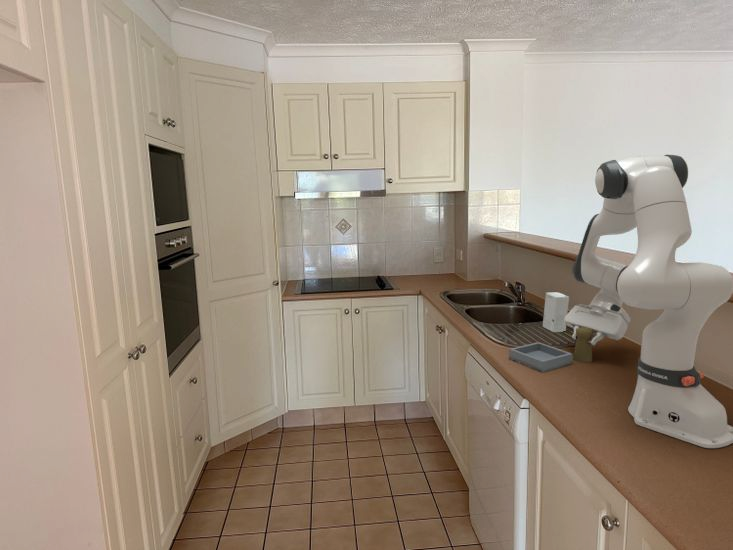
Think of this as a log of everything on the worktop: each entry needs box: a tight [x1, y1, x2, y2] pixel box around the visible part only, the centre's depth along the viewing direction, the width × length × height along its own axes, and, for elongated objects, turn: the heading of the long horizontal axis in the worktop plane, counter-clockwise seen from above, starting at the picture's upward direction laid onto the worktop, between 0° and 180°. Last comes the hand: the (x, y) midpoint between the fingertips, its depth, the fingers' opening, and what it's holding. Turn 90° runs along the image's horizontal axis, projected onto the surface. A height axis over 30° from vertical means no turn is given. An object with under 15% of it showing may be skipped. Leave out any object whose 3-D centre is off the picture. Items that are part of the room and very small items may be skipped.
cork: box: [572, 327, 594, 364], centre depth 156 cm, size 6×6×11 cm
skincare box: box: [542, 291, 570, 333], centre depth 189 cm, size 8×6×15 cm
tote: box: [508, 341, 574, 373], centre depth 156 cm, size 14×14×4 cm
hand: (582, 341), depth 156 cm, fingers closed on cork, 5 cm apart
